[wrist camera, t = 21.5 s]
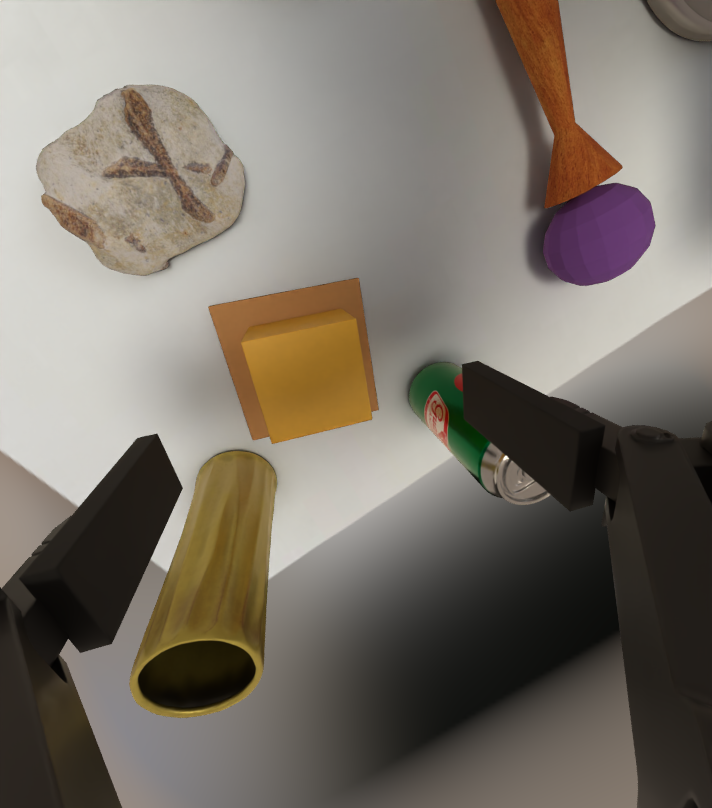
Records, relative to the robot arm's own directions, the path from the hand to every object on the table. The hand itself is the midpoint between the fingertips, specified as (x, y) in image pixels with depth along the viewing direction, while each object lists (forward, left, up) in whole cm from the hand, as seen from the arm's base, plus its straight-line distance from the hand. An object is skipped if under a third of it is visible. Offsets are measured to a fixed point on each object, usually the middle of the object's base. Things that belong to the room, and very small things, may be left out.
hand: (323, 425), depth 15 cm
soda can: (-11, -1, -11) cm, 16 cm away
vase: (+2, +11, -11) cm, 16 cm away
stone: (+11, -7, -11) cm, 17 cm away
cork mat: (0, 0, -11) cm, 11 cm away
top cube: (0, 0, -11) cm, 11 cm away
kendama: (-10, -19, -11) cm, 24 cm away
